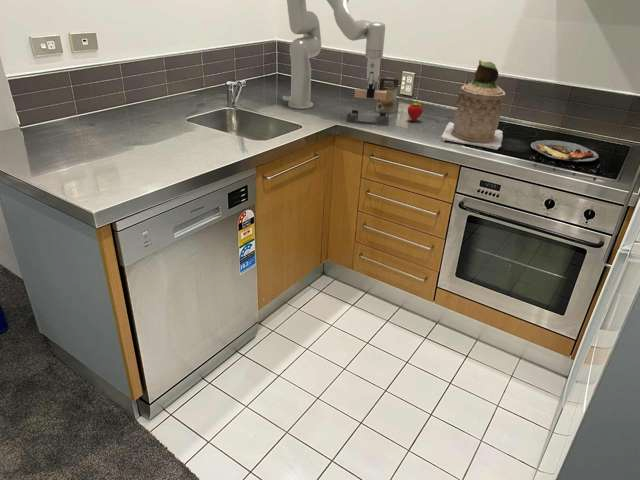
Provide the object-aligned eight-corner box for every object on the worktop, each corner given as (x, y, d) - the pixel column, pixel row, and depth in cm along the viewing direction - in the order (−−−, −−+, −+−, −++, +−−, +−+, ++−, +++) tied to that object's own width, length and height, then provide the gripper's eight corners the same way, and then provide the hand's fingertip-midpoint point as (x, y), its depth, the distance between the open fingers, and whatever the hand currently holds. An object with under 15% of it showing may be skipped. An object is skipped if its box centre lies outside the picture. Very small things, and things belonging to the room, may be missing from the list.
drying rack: (346, 121, 222) (346, 114, 220) (348, 115, 231) (349, 108, 229) (387, 125, 220) (388, 118, 218) (388, 119, 228) (389, 112, 227)
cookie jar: (500, 151, 197) (520, 69, 181) (439, 142, 204) (453, 61, 187) (503, 134, 217) (521, 58, 201) (447, 126, 224) (460, 52, 208)
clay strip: (385, 99, 217) (386, 93, 216) (354, 97, 219) (354, 90, 217) (386, 97, 221) (386, 91, 219) (355, 95, 222) (355, 88, 221)
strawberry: (403, 119, 229) (406, 98, 224) (417, 118, 231) (420, 97, 226) (409, 123, 224) (412, 101, 219) (423, 122, 227) (427, 100, 222)
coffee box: (376, 111, 239) (379, 78, 231) (376, 108, 245) (379, 75, 236) (394, 113, 238) (398, 79, 230) (394, 109, 244) (398, 76, 236)
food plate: (610, 163, 189) (613, 154, 187) (560, 168, 183) (563, 159, 181) (565, 143, 210) (567, 136, 208) (519, 147, 204) (520, 139, 202)
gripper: (381, 57, 203) (377, 101, 212) (383, 51, 217) (380, 93, 226) (363, 56, 204) (360, 100, 213) (367, 50, 218) (364, 91, 227)
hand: (370, 96), depth 219 cm, fingers closed on clay strip, 4 cm apart
